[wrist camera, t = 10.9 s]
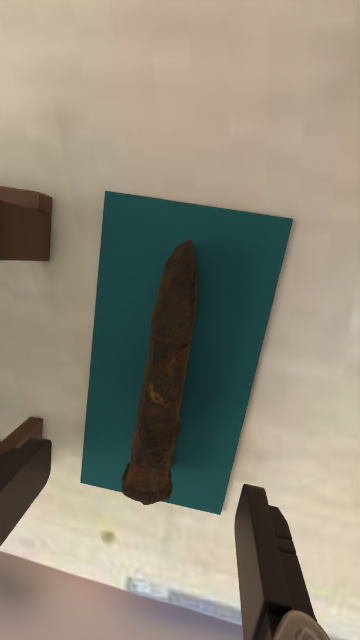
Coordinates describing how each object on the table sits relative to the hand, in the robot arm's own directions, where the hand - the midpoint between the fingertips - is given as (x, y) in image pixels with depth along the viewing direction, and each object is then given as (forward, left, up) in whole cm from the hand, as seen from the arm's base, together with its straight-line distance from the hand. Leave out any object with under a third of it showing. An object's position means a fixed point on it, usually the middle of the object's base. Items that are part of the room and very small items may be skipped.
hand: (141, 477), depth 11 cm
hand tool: (+1, 0, -11) cm, 11 cm away
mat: (0, 0, -11) cm, 11 cm away
